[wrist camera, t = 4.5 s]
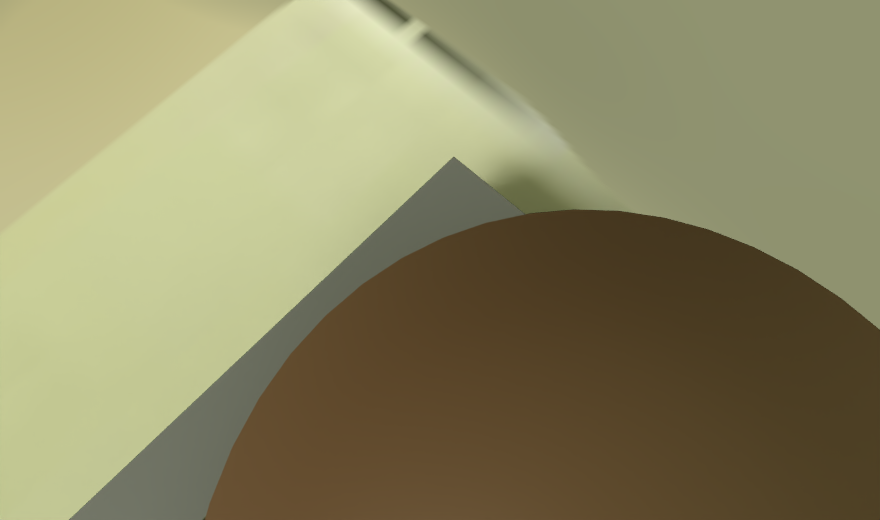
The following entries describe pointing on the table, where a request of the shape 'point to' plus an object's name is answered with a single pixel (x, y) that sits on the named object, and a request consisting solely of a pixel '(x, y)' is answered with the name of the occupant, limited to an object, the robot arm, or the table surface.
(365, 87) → the table surface
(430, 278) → the walnut peg
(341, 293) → the socket block
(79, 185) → the table surface
